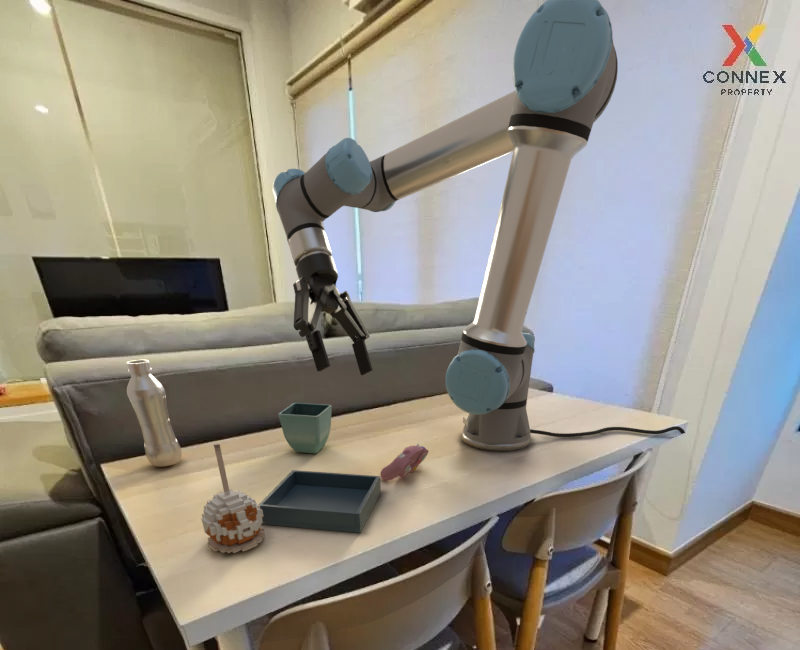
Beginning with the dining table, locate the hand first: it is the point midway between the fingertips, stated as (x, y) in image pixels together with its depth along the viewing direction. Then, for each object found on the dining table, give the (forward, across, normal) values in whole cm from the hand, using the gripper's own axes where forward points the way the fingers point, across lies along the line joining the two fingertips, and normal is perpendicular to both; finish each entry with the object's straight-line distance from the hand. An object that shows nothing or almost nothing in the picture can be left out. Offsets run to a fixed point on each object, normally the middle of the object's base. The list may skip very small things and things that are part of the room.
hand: (346, 370), depth 91 cm
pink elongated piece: (+23, 0, +6) cm, 24 cm away
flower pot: (+11, -1, -16) cm, 20 cm away
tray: (+25, +18, +1) cm, 31 cm away
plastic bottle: (+7, +21, -35) cm, 41 cm away
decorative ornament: (+26, +33, -4) cm, 42 cm away
